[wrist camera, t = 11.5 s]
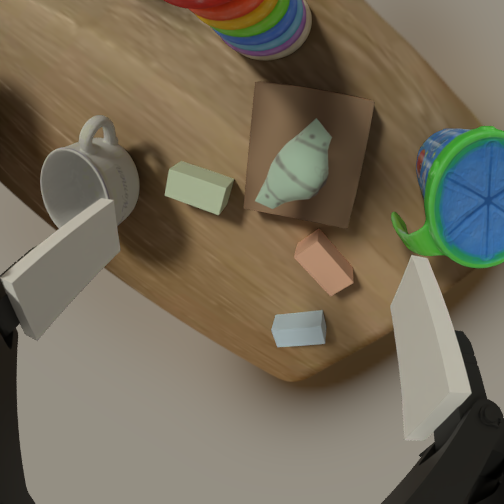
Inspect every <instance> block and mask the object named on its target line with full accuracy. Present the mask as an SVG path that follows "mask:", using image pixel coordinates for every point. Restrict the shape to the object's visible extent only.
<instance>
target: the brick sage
mask: <svg viewBox="0 0 504 504" xmlns="http://www.w3.org/2000/svg"><path fill="white" fill-rule="evenodd" d="M233 182H234V179H233V178H230V177H227V176H225V175H222V174H219V173H216V172H213V171H210V170H207V169H204V168H201V167H198V166H195V165H192V164H189V163H186V162H183V161H181V162H179V163H177V164H176V165H174V166H173V167H171V168H170V169H169V173H168V179H167V184H166V190H165V196H167V197H170V198H173V199H175V200H178V201H181V202H184V203H186V204H189V205H192V206H195V207H197V208H200V209H203V210H206V211H208V212H211V213H214V214H216V215H219V214H220V213H221V212H222V210H223V209H224V208H225V206H226V205H227V203H228V200H229V196H230V193H231V189H232V186H233Z"/></svg>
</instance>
